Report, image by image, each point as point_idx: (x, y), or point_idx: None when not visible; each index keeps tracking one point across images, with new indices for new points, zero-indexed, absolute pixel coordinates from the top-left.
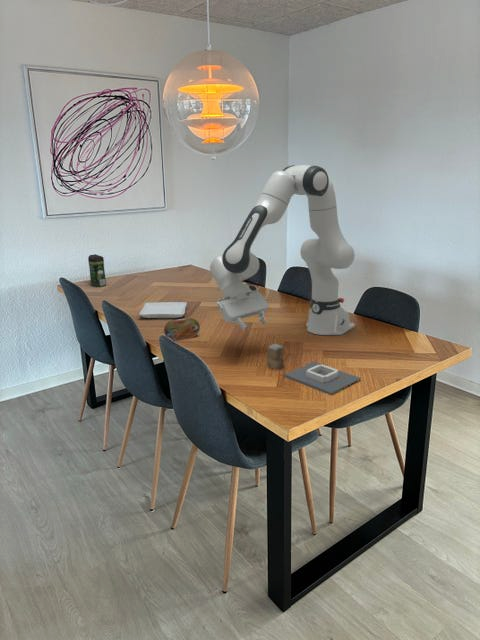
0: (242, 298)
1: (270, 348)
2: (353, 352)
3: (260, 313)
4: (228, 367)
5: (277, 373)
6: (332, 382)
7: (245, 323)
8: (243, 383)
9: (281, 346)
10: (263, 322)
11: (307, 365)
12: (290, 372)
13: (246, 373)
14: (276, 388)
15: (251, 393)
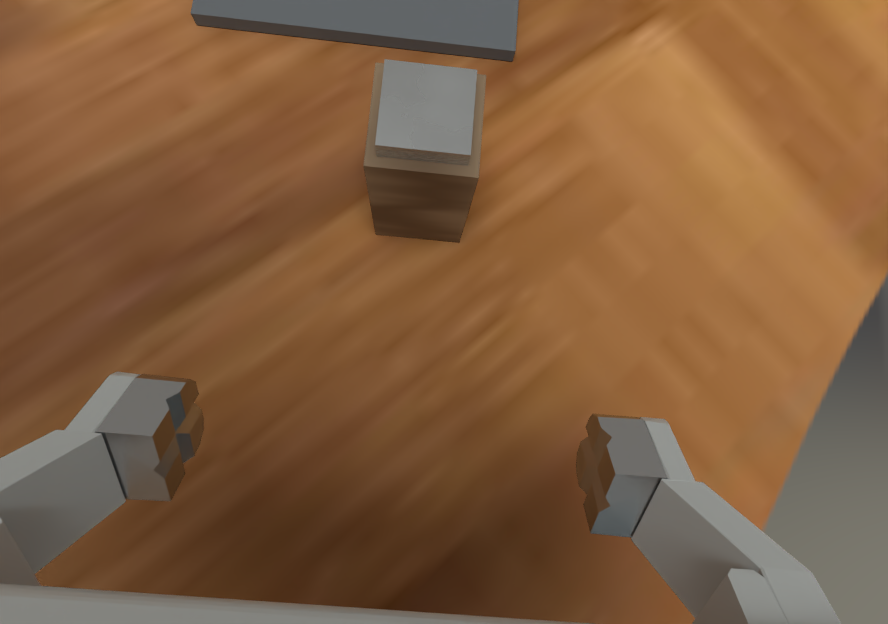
0: None
1: (472, 146)
2: None
3: (7, 556)
4: None
5: (505, 120)
6: None
7: (628, 464)
8: (775, 191)
9: (390, 64)
10: (190, 386)
11: (285, 13)
12: (465, 35)
13: (653, 278)
14: (677, 4)
15: (828, 71)
